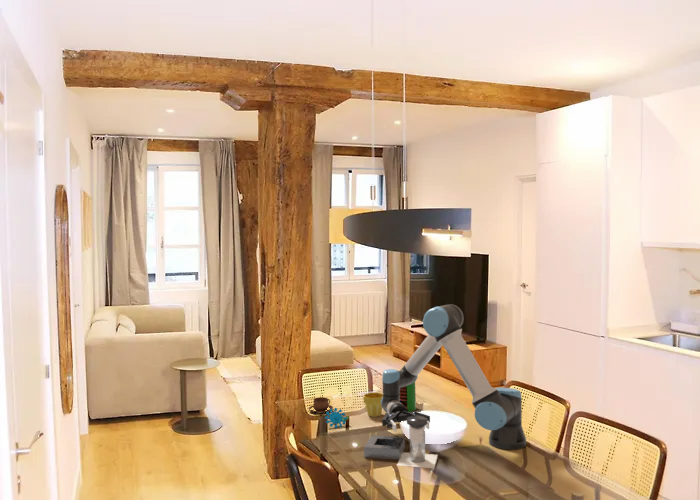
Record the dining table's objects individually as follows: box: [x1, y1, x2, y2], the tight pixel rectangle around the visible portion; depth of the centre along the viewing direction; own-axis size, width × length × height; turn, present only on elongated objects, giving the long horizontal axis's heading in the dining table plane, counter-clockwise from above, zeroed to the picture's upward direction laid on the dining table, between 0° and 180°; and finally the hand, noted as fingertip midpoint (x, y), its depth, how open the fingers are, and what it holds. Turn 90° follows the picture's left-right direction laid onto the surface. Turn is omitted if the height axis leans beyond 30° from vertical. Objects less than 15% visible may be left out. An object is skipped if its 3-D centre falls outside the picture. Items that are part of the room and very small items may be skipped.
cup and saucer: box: [308, 396, 334, 414], centre depth 308 cm, size 12×12×6 cm
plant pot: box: [362, 392, 383, 418], centre depth 300 cm, size 10×10×10 cm
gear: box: [324, 407, 349, 429], centre depth 286 cm, size 11×6×10 cm
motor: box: [400, 381, 417, 413], centre depth 309 cm, size 10×9×20 cm
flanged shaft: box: [406, 416, 428, 463], centre depth 238 cm, size 8×8×16 cm
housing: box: [363, 434, 406, 461], centre depth 247 cm, size 14×14×5 cm
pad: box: [396, 451, 439, 472], centre depth 238 cm, size 14×14×1 cm
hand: (412, 426), depth 243 cm, fingers open, 13 cm apart
